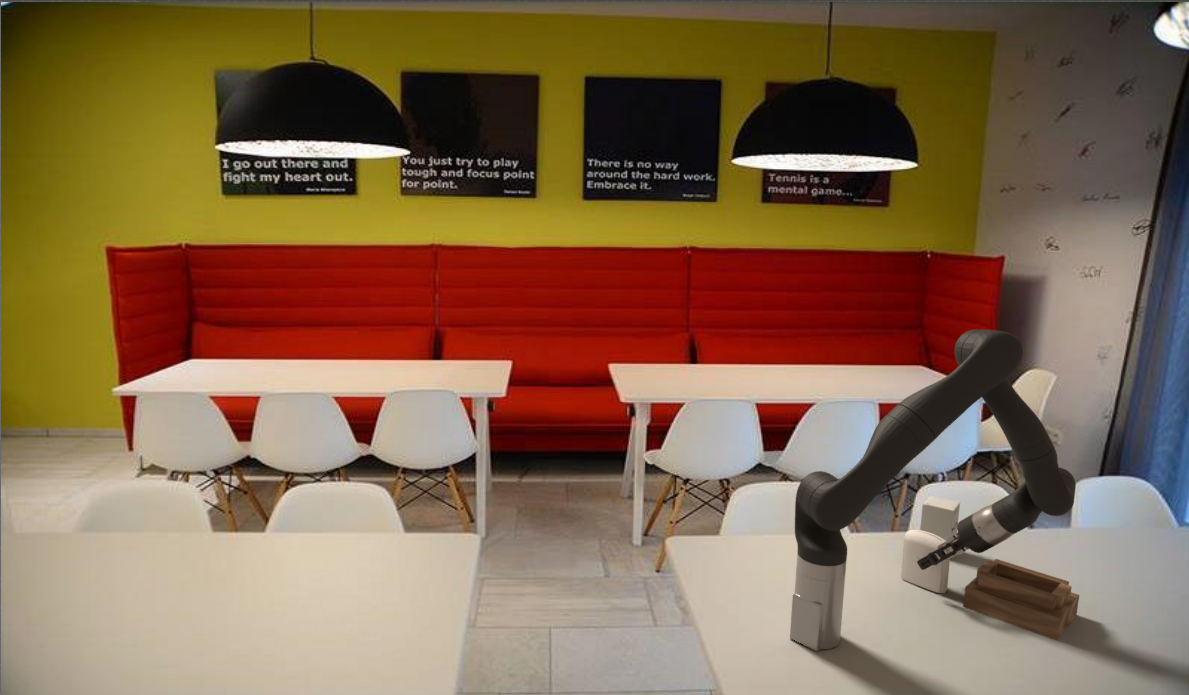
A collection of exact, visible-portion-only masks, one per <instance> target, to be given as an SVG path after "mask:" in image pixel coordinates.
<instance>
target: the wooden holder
mask: <svg viewBox="0 0 1189 695" xmlns="http://www.w3.org/2000/svg"><path fill="white" fill-rule="evenodd" d="M1072 588H1073V587H1072V585H1070V581H1069V580H1065V579H1063V578H1060V577H1055V576H1052V575H1049V574H1046V573H1043V572H1040V571H1036V570H1033V569H1030V568H1026V567H1023V566H1020V565H1017V564H1014V563H1011V562H1007V561H1004V560H1000V559H998V558H995V559H994V560H993V561H992V560H986V561H985V562H984V563H983V564H982V565H981V566H980V567H978V568H977V570H976V577H975V578H973V579H972V580H971V581H970V582H969V583H968V584H967V585H965V588H964V595H963V596H964V597H963V604H962V608H964V609H968V610H971V611H973V612H976V613H979V614H981V615H984V616H988V617H990V618H992V619H994V620H995V619H996V620H998V621H1002V622H1004V623H1007V624H1009V625H1012V626H1015V627H1018V628H1021V629H1024V630H1027V631H1028V632H1031V633H1035V634H1038V635H1040V636H1043V637H1046V638H1049V639H1052V640H1054V641H1058V639H1060V637H1061V635H1062V634H1063V633H1064V632H1065V631H1066V629H1067V628H1068V627H1069V626H1070V625H1071V623H1072V622H1073V621H1074V619H1075V618H1076V617H1077V615H1078V608H1079V600H1080V594H1078V593H1074V592H1072ZM1075 616H1076V617H1075Z"/></svg>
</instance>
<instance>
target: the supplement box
mask: <svg viewBox="0 0 1189 695" xmlns="http://www.w3.org/2000/svg"><path fill="white" fill-rule="evenodd" d="M960 505H961V502H960V501H956V500H951V499H946V498H942V497H937V496H933V495H932V496H931V495H930V496H929V497H928V498H927V499H926V500H925V501H924V502H923V503H922V506H921V508H922V509H921V517H920V526H919V530H921V531H926V532H929V533H932V534H934V535H937V536H939V537H941V538H942V539H944V540H945V541H947V540H948V538H950V537H951V536H953V535H955V534H956V533H958V530H957V525H958V523H959V517H960V515H959V514H960V508H961V506H960Z"/></svg>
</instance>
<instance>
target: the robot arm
mask: <svg viewBox="0 0 1189 695" xmlns="http://www.w3.org/2000/svg"><path fill="white" fill-rule="evenodd" d="M1023 356H1024V346H1023V344H1022V342H1021V340H1020V338H1018V337H1017V336H1015V334H1012V333H1009V332H1006V331H1002V330H995V329H984V328H983V329H971V330H967V331H965V332H964V333H962V334H961V335H960V337H958V338H957V341H956V342H955V346H954V358H955V361H956V363H957V364H958V366H957V367H956V368H955V369H954V370H952V372H950V373H949V374H947V375H946V376H945V377H943V378H941V379H940V380H938V381H936V382H934V383H932V384H930V385H927V386H925V387H923V388H922V389H920V390H918V391H916V392H913V393H912V394H910V395H909V396H907V397H905V398H904V399H903V400H902V401H900V402H899V403H898V404H897V405H896V406H895V407H894V408H892V409H891V410H890V411H889V412H888V413H887V414H886V415H884V417H883V418H882V419H881V420H880V421H879V422H878V423H877V425H876V427H875V429H874V431H873V433H872V435H871V438H870V440H869V442H868V445H867V448H866V449H865V451H864V452H865V453H864V454H863V456H862V458H860V460H859V461H858V462H857V463H856V464H855V465H854V466H853V468H851V469H850V470H849V471H847V473H846V474H844V475H843V476H842V477H841V478H837V477H836V476H834V475H832V474H831V473H829V472H827V471H822V470H820V471H817V470H816V471H813V472H810V473H809V474H807V475H805V476H804V478H802V480H801V482H800V483H799V485H798V488H797V490H796V494H795V502H794V504H795V505H794V506H795V507H794V537H795V540H796V544H797V550H796V551H797V555H796V567H795V568H796V570H795V582H794V583H795V584H794V593H793V594H792V600H791V602H792V603H791V616H790V633H789V639H791V640H792V639H793V640H792V641H794V640H795V641H794V642H796V641H797V642H796V643H798V642H799V643H798V644H800V643H801V644H800V645H802V644H803V646H805V647H806V648H809V649H811V650H813V651H815V652H818V651H820V650H829V649H833V647H834V648H836V647H837V646H839V644H840V642H841V634H842V633H841V632H842V624H843V623H842V622H843V621H842V620H843V619H842V618H843V609H844V597H845V596H844V595H845V585H846V584H845V583H846V570H847V559H848V545H847V543H846V541H845V539H844V536H843V535H842V532H841V530H842V529H844V528H847V527H848V526H850V525H851V524H852V523H853V522H854V521H856V519H857V518H858V517H860V515H861V514H862V513H863V512H864V511H865V510H866V508H867V507H868V506H869V505H870V504H871V502H873V500H874V499H875V498H876V497H877V496H878V495H879V493H880V492H881V491H882V490H883V489H884V488H885V487H886V485H888V484H889V483H890V481H892V480H893V479H894V478H895V477H896V476H897V475H898V474H899V473H900V472H901V471H902V470H904V468H905V467H907V465H908V464H910V463H911V462H912V461H913V460H914V459H915V458H916V457H917V456H919V455H920V454H921V453H922V452H923V451H924V450H926V449H927V447H929V446H930V445H931V444H932V443H933V442H934V441H935V440H937V438H938V437H939V436H940V435H941V434H942V433H943V432H945V430H946V429H948V428H949V427H950V426H951V425H953V423H955V421H957V419H959V418H960V417H961V416H962V415H963V414H964V413H966V411H968V409H969V408H970V407H971V406H973V405H974V404H975V403H976V402H978V400H980V399H982V400H983V401H984V403H985V404H986V406H987V407H988V409H989V410H990V412H991V414H992V415H993V416H994V418H995V420H996V422H997V424H998V425H999V427H1000V428H1001V430H1002V432H1003V434H1004V436H1005V438H1006V441H1007V442H1008V444H1009V447H1010V448H1011V450H1012V452H1013V454H1014V456H1015V458H1016V460H1017V462H1018V464H1019V465H1020V468H1021V471H1022V474H1023V478H1024V482H1023V483H1022V484H1020V485H1019V486H1018V487H1017V488H1016V489H1015V490H1014V491H1012V492H1011V493H1010V494H1008V495H1006V496H1004V497H1002V498H1001V499H999V500H997V501H996V502H993V503H992V504H989V505H987V506H984V507H982V508H981V509H979V510H977V511H975V512H973V513H972V514H970V515H968V516H967V517H965V518H963V519H961V520H960V521H958V525H957V533H956V534H955V535H953V536H951V537H950V538H948V540H947V541H945V542H944V543H942V544H940V545H938V546H937V550H935V551H933V552H930V553H929V554H928V555H927V556H925V557H923V558H922V559H920V560H918V561H917V564H918V565H919V566H920V568H921V569H922V570H925V569H926V568H928V567H930V566H932V565H937V564H938V563H940V562H941V561H943V560H949V559H950V560H951V559H953V558H954V557H956V556H958V555H961V554H964V553H965V552H967V551H968V550H970V551H972V552H974V553H975V554H982V553H984V552H987V551H988V550H991V548H994V547H995V546H997V545H999V544H1001V543H1003V542H1005V541H1007V540H1008V539H1010V538H1011V537H1013V536H1014V535H1015V534H1017V533H1019V532H1021V531H1023V530H1025V529H1026V528H1028V527H1030V526H1032V525H1033V524H1035V523H1036V521H1037V520H1038V518H1039V516H1040V514H1041V513H1043V514H1044V513H1045V514H1047V515H1049V516H1053V517H1059V516H1060V517H1061V516H1063V515H1066V514H1068V513H1069V512H1070V511H1071V510H1072V508H1073V506H1074V505H1075V504H1074V503H1075V495H1076V484H1077V483H1076V479H1075V477H1074V476H1073V474H1072V473H1071V472H1070V471H1068V470H1067V469H1065V468H1063V467H1059V462H1058V453H1057V450H1056V447H1055V446H1054V444H1053V442H1052V439H1051V438H1050V435H1049V433H1048V431H1047V430H1046V428H1045V426H1044V425H1043V422H1042V421H1041V420H1040V418H1039V417H1038V416H1037V414H1036V413H1035V412H1034V411H1033V410H1032V408H1031V407H1030V406H1029V405H1028V404H1027V403H1026V402H1025V400H1024V399H1023V398H1021V395H1020V394H1019V393H1018V392H1017V391H1016V390H1015V388H1014V386H1012V384H1011V382H1010V380H1009V377H1010V376H1012V375H1013V374H1014V373H1015V372H1016V370H1018V368H1019V367H1020V364H1021V363H1022V360H1023ZM945 544H946V545H945ZM935 553H937V554H938V556H939V557H940V559H938V557H937V556H936V555H935Z"/></svg>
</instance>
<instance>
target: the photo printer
mask: <svg viewBox="0 0 1189 695" xmlns="http://www.w3.org/2000/svg"><path fill="white" fill-rule="evenodd" d="M904 534H905V535H904V538H903V548H902V558H901V560H902V561H901V572H900V576H901V578H900V579H902V580H903V581H906V582H908V583H911V584H913V585H915V586H918V587H920V588H924V589H927V590H928V591H931V592H934V593H937V594H944V593H946V592H947V589H948V584H949V573H950V571H949V570H950V562H951V559H949V560H943V561H941V562H940V563H938V564H937V565H932V566H930V567H928V568H926V569H925V570H922V569H921V568H920V566H919V565H918V564H917V561H918V560H920V559H922V558H923V557H925V556H927V555H928V554H929V553H930V552H933V551H935V550H937V546H938V545H940V544H942V543H944V542H945V540H944V539H942V538H941V537H939V536H937V535H934V534H932V533H929V532H926V531H921V530H920V529H909V530H907V531H906V533H904ZM945 545H946V544H945ZM935 555H936V556H937V557H938V559H940V557H939V556H938V554H937V553H935Z"/></svg>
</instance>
